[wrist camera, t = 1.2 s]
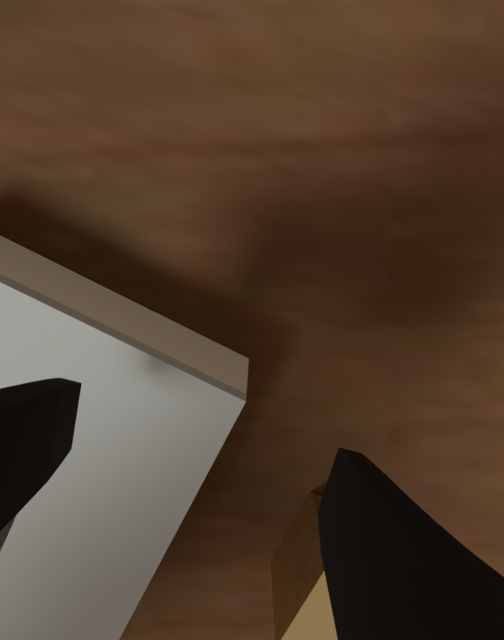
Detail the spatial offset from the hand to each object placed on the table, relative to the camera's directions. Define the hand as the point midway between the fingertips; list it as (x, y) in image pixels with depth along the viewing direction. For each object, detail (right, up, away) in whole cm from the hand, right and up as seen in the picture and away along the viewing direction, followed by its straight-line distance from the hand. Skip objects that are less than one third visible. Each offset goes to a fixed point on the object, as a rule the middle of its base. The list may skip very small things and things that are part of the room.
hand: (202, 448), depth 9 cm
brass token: (+5, -9, +11) cm, 15 cm away
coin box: (-10, -2, +10) cm, 14 cm away
